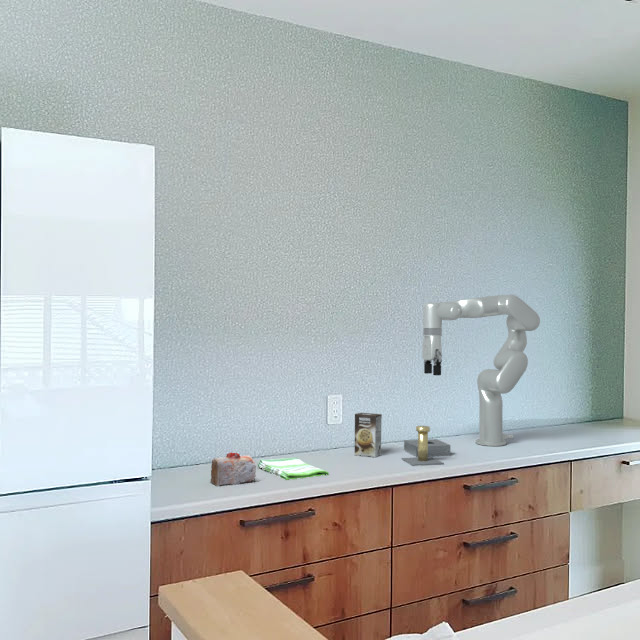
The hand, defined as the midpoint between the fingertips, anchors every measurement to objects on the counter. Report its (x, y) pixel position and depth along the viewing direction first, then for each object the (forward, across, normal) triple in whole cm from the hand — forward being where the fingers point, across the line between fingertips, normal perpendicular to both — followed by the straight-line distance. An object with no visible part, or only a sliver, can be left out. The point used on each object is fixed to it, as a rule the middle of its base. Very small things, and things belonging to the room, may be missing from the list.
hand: (432, 374), depth 292 cm
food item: (+31, +42, -86) cm, 101 cm away
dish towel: (+31, +30, -64) cm, 77 cm away
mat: (+30, +25, -14) cm, 42 cm away
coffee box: (+31, +8, -30) cm, 44 cm away
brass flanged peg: (+30, +25, -14) cm, 41 cm away
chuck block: (+30, +9, -6) cm, 32 cm away
